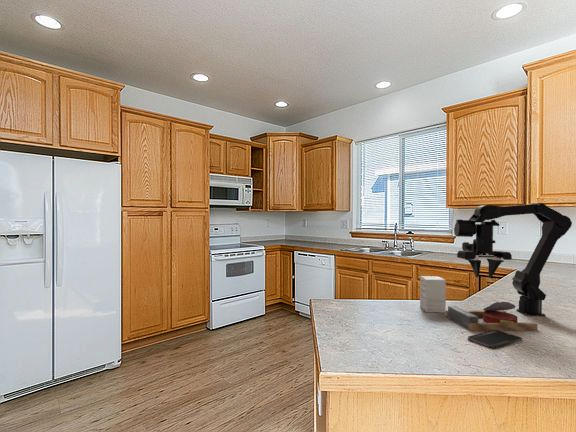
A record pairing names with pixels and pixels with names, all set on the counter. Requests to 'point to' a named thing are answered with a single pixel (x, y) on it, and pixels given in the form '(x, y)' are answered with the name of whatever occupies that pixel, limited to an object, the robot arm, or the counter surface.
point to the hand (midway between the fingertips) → (483, 277)
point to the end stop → (461, 316)
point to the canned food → (499, 313)
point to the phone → (494, 339)
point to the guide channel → (497, 324)
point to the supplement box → (433, 294)
